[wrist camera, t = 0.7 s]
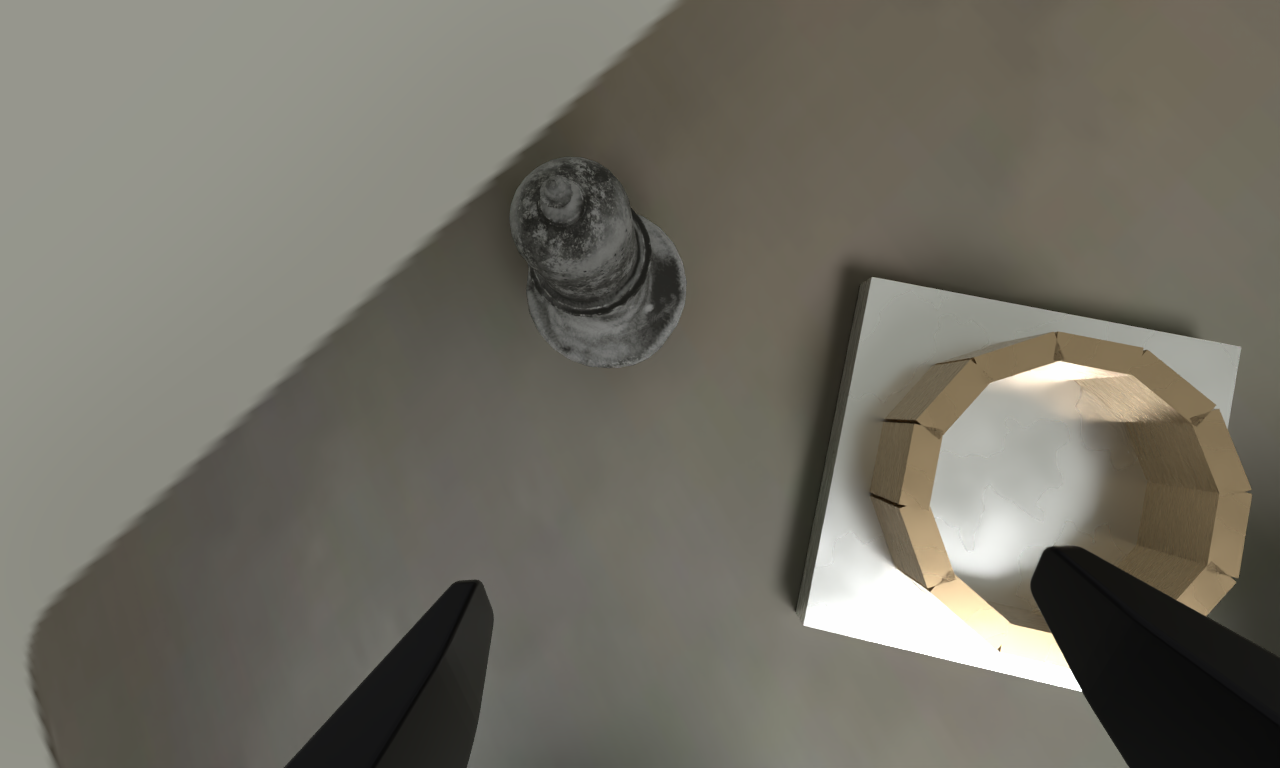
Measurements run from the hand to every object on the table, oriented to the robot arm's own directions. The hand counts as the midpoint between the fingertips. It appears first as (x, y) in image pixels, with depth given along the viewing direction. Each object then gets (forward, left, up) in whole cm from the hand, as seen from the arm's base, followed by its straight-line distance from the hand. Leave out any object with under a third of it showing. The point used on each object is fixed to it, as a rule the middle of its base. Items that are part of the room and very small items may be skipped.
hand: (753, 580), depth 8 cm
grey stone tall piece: (+6, +5, -13) cm, 16 cm away
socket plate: (+2, -12, -13) cm, 18 cm away
